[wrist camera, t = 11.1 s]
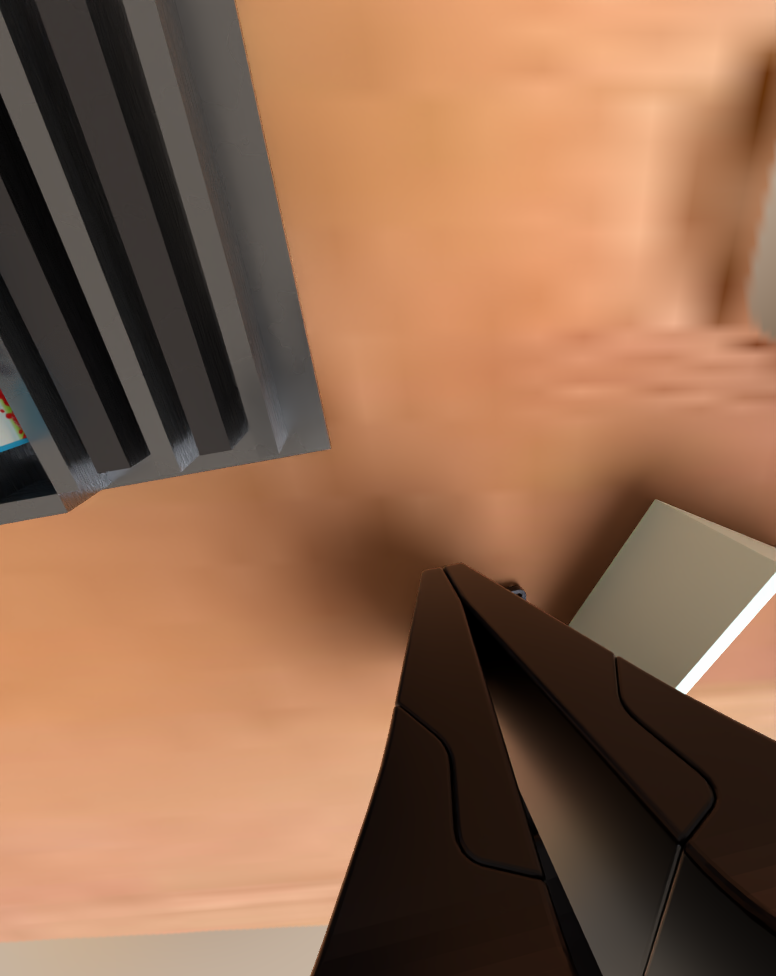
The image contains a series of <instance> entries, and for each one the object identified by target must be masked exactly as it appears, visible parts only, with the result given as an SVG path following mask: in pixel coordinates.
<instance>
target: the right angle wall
mask: <svg viewBox="0 0 776 976" xmlns="http://www.w3.org/2000/svg"><path fill="white" fill-rule="evenodd" d="M775 593H776V548H775V547H773V546H770V545H768V544H765V543H763V542H760V541H758V540H755V539H753V538H751V537H748V536H746V535H743V534H741V533H738V532H736V531H733V530H731V529H728V528H726V527H723V526H721V525H718V524H716V523H714V522H711V521H709V520H706V519H704V518H701V517H699V516H696V515H694V514H691V513H689V512H686V511H684V510H681V509H679V508H677V507H674V506H672V505H669V504H667V503H664V502H662V501H659V500H657V499H655V500H654V502H653V503H652V504H651V506H650V507H649V509H648V510H647V512H646V513H645V515H644V516H643V518H642V519H641V520H640V522H639V523H638V525H637V526H636V528H635V529H634V531H633V532H632V533H631V535H630V536H629V538H628V539H627V541H626V542H625V544H624V545H623V547H622V548H621V549H620V551H619V552H618V554H617V555H616V557H615V558H614V560H613V561H612V563H611V564H610V565H609V567H608V568H607V570H606V571H605V573H604V574H603V576H602V577H601V578H600V580H599V581H598V583H597V584H596V586H595V587H594V589H593V590H592V592H591V593H590V594H589V596H588V597H587V599H586V600H585V602H584V603H583V605H582V606H581V607H580V609H579V610H578V612H577V613H576V615H575V616H574V618H573V619H572V621H571V622H570V623H569V625H568V626H569V627H571V628H573V629H575V630H576V631H578V632H580V633H581V634H583V635H585V636H586V637H588V638H590V639H591V640H593V641H595V642H596V643H598V644H600V645H601V646H603V647H605V648H606V649H608V650H610V651H611V652H613V653H614V654H615V658H616V657H617V656H620V657H622V658H623V659H625V660H627V661H629V662H630V663H632V664H634V665H635V666H637V667H639V668H640V669H642V670H644V671H645V672H647V673H649V674H651V675H652V676H654V677H656V678H658V679H659V680H661V681H663V682H665V683H666V684H668V685H670V686H672V687H673V688H675V689H677V690H679V691H680V692H682V693H684V694H687V692H688V691H689V690H690V689H691V688H692V687H693V686H694V684H695V683H696V682H697V681H698V680H699V679H700V678H701V677H702V675H703V674H704V673H705V672H706V671H707V670H708V669H709V667H710V666H711V665H712V664H713V663H714V662H715V661H716V660H717V658H718V657H719V656H720V655H721V654H722V653H723V652H724V650H725V649H726V648H727V647H728V646H729V645H730V644H731V643H732V641H733V640H734V639H735V638H736V637H737V636H738V635H739V633H740V632H741V631H742V630H743V629H744V628H745V627H746V626H747V624H748V623H749V622H750V621H751V620H752V619H753V618H754V616H755V615H756V614H757V613H758V612H759V611H760V610H761V609H762V607H763V606H764V605H765V604H766V603H767V602H768V601H769V599H770V598H771V597H772V596H773V595H774V594H775Z"/></svg>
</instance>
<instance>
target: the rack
mask: <svg viewBox="0 0 776 976" xmlns="http://www.w3.org/2000/svg"><path fill="white" fill-rule="evenodd" d="M0 389H1V391H2V393H3V395H4V396H5V398H6V400H7V402H8V404H9V406H10V407H11V409H12V411H13V413H14V415H15V417H16V418H17V420H18V422H19V424H20V426H21V428H22V429H23V431H24V433H25V435H26V437H27V439H28V440H29V442H28V443H25V444H22V445H20V446H17V447H14V448H11V449H8V450H6V451H3V452H0V525H2V524H7V523H13V522H18V521H24V520H29V519H35V518H40V517H46V516H52V515H57V514H63V513H68V512H69V511H71V510H72V509H74V508H75V507H77V506H78V505H80V504H81V503H83V502H84V501H86V500H87V499H89V498H90V497H92V496H93V495H94V494H96V493H97V492H99V491H100V490H103V489H108V488H114V487H120V486H125V485H131V484H136V483H142V482H148V481H153V480H159V479H164V478H170V477H176V476H181V475H187V474H192V473H198V472H204V471H209V470H215V469H220V468H226V467H232V466H237V465H243V464H248V463H254V462H260V461H265V460H271V459H276V458H282V457H288V456H293V455H299V454H304V453H310V452H316V451H321V450H327V449H331V444H330V439H329V434H328V430H327V425H326V420H325V416H324V411H323V406H322V402H321V397H320V392H319V388H318V383H317V378H316V374H315V369H314V364H313V360H312V355H311V350H310V346H309V341H308V336H307V332H306V327H305V322H304V318H303V313H302V308H301V304H300V299H299V295H298V290H297V285H296V281H295V276H294V271H293V267H292V262H291V257H290V253H289V248H288V243H287V239H286V234H285V229H284V225H283V220H282V215H281V211H280V206H279V201H278V197H277V192H276V187H275V183H274V178H273V173H272V169H271V164H270V159H269V155H268V150H267V145H266V141H265V136H264V131H263V127H262V122H261V117H260V113H259V108H258V104H257V99H256V94H255V90H254V85H253V80H252V76H251V71H250V66H249V62H248V57H247V52H246V48H245V43H244V38H243V34H242V29H241V24H240V20H239V15H238V10H237V6H236V1H235V0H0Z"/></svg>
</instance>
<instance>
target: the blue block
mask: <svg viewBox="0 0 776 976" xmlns="http://www.w3.org/2000/svg"><path fill="white" fill-rule="evenodd" d="M28 442H29V440H28V439H27V437H26V435H25V433H24V431H23V429H22V428H21V426H20V424H19V422H18V420H17V418H16V417H15V415H14V413H13V411H12V409H11V407H10V406H9V404H8V402H7V400H6V398H5V396H4V395H3V393H2V391H1V389H0V452H3V451H6V450H8V449H11V448H14V447H17V446H20V445H22V444H25V443H28Z"/></svg>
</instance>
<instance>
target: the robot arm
mask: <svg viewBox="0 0 776 976" xmlns="http://www.w3.org/2000/svg"><path fill="white" fill-rule="evenodd" d="M517 593H519V594H518V595H516V594H517ZM395 705H396V706H395V707H394V710H393V715H392V720H391V724H390V729H389V734H388V738H387V742H386V746H385V750H384V754H383V759H382V763H381V767H380V770H379V773H378V777H377V780H376V783H375V786H374V790H373V793H372V796H371V800H370V803H369V806H368V809H367V812H366V815H365V818H364V821H363V824H362V827H361V830H360V833H359V836H358V839H357V842H356V845H355V848H354V851H353V854H352V857H351V860H350V863H349V866H348V869H347V872H346V875H345V878H344V881H343V883H342V886H341V889H340V892H339V895H338V898H337V901H336V904H335V907H334V910H333V913H332V916H331V919H330V922H329V925H328V928H327V931H326V934H325V937H324V940H323V943H322V945H321V948H320V951H319V954H318V957H317V959H316V962H315V965H314V967H313V970H312V972H311V975H310V976H776V741H775V740H773V739H771V738H769V737H767V736H765V735H763V734H761V733H759V732H757V731H755V730H753V729H751V728H749V727H747V726H745V725H743V724H741V723H739V722H737V721H735V720H733V719H732V718H730V717H728V716H726V715H724V714H722V713H720V712H718V711H716V710H714V709H713V708H711V707H709V706H707V705H705V704H703V703H701V702H699V701H697V700H695V699H693V698H692V697H690V696H688V695H686V694H684V693H682V692H680V691H679V690H677V689H675V688H673V687H672V686H670V685H668V684H666V683H665V682H663V681H661V680H659V679H658V678H656V677H654V676H652V675H651V674H649V673H647V672H645V671H644V670H642V669H640V668H639V667H637V666H635V665H634V664H632V663H630V662H629V661H627V660H625V659H623V658H622V657H620V656H617V657H616V658H615V654H614V653H613V652H611V651H610V650H608V649H606V648H605V647H603V646H601V645H600V644H598V643H596V642H595V641H593V640H591V639H590V638H588V637H586V636H585V635H583V634H581V633H580V632H578V631H576V630H575V629H573V628H571V627H569V626H568V625H566V624H564V623H563V622H561V621H559V620H558V619H556V618H554V617H553V616H551V615H549V614H548V613H546V612H544V611H543V610H541V609H539V608H538V607H536V606H534V605H533V604H531V603H529V602H528V601H526V593H525V591H524V590H523V588H522V587H520V586H512V587H507V588H504V587H502V586H501V585H499V584H497V583H496V582H494V581H492V580H491V579H489V578H487V577H486V576H484V575H482V574H481V573H479V572H477V571H476V570H474V569H472V568H471V567H469V566H467V565H466V564H464V563H456V564H451V565H446V566H444V567H443V569H442V568H441V567H436V568H431V569H426V570H423V571H422V573H421V578H420V583H419V588H418V593H417V598H416V603H415V608H414V612H413V617H412V622H411V627H410V632H409V637H408V642H407V647H406V652H405V657H404V662H403V667H402V672H401V677H400V682H399V687H398V691H397V696H396V701H395Z"/></svg>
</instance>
